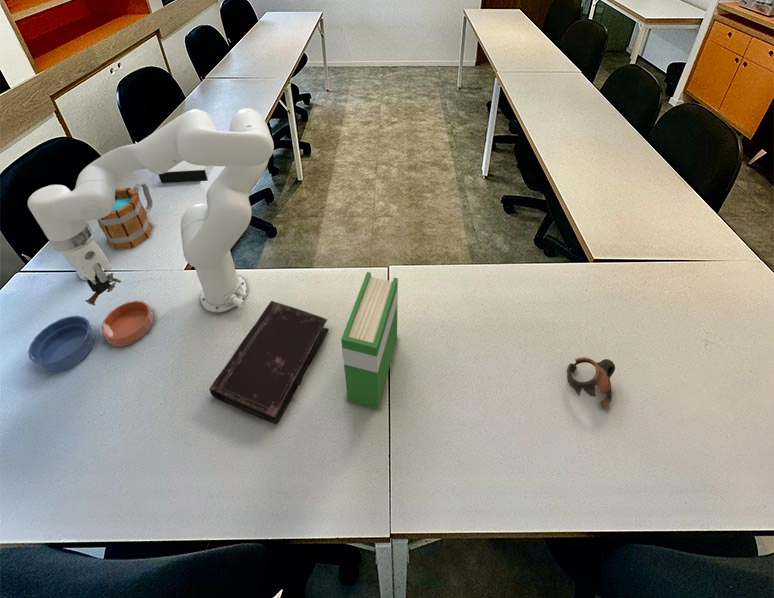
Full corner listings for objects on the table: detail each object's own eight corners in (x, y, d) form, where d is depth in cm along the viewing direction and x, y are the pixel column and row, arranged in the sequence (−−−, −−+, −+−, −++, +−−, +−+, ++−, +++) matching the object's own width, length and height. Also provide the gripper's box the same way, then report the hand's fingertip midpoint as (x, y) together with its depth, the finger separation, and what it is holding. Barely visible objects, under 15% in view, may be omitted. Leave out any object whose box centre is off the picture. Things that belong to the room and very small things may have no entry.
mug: (134, 252, 136) (117, 218, 128) (98, 246, 139) (79, 211, 131) (172, 212, 152) (159, 179, 144) (139, 207, 155) (125, 174, 147)
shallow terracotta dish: (162, 319, 116) (158, 312, 114) (122, 353, 108) (118, 346, 106) (136, 301, 121) (133, 294, 119) (97, 333, 113) (92, 326, 111)
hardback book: (369, 332, 112) (367, 271, 99) (396, 339, 111) (397, 278, 98) (347, 400, 98) (341, 339, 85) (378, 408, 97) (376, 348, 83)
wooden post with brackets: (125, 278, 109) (112, 273, 105) (102, 308, 105) (88, 303, 102) (120, 276, 110) (108, 270, 106) (97, 305, 106) (83, 300, 103)
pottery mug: (599, 421, 95) (587, 395, 92) (566, 396, 103) (554, 372, 101) (632, 383, 98) (621, 358, 96) (597, 362, 107) (586, 338, 105)
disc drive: (161, 183, 166) (157, 173, 164) (180, 151, 185) (176, 142, 182) (207, 181, 168) (204, 171, 165) (221, 149, 186) (218, 140, 184)
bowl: (107, 340, 111) (100, 329, 109) (54, 383, 102) (45, 373, 99) (79, 318, 117) (72, 308, 114) (26, 357, 107) (17, 347, 105)
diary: (211, 397, 99) (206, 386, 96) (271, 310, 118) (268, 298, 116) (280, 428, 93) (277, 417, 91) (331, 331, 113) (330, 319, 110)
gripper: (107, 237, 94) (135, 290, 104) (69, 213, 101) (98, 266, 111) (72, 259, 89) (105, 314, 99) (34, 233, 95) (69, 287, 106)
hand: (101, 288), depth 105 cm, fingers closed on wooden post with brackets, 1 cm apart
